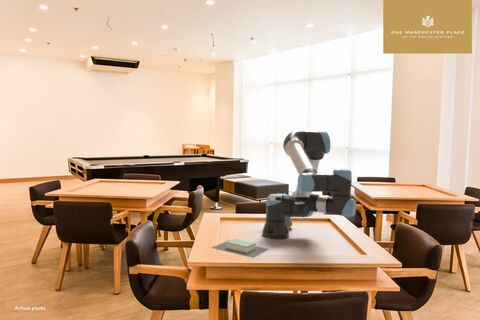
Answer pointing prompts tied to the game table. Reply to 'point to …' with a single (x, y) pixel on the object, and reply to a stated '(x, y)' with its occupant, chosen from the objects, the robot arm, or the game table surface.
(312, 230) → the game table surface
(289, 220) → the coffee pot
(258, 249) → the mat
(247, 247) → the tile
